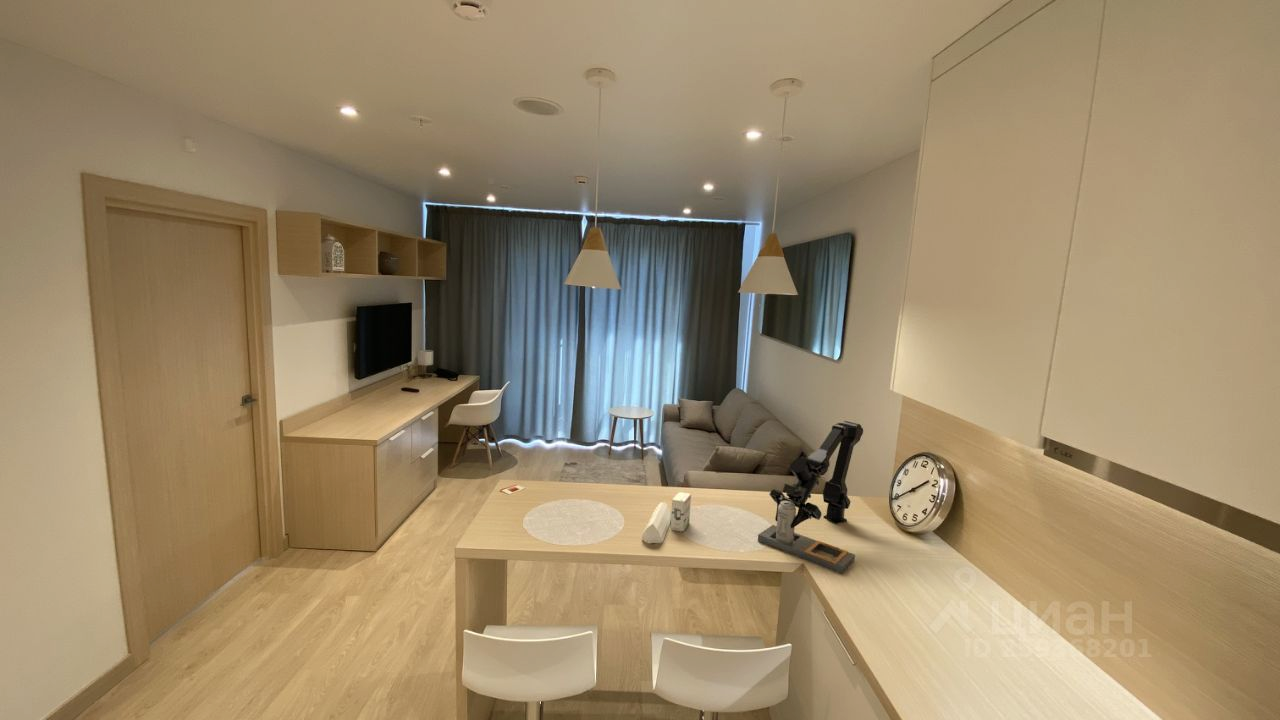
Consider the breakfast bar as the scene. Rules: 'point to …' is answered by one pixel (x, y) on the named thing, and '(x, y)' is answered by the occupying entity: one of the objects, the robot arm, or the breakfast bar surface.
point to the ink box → (680, 511)
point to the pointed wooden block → (658, 524)
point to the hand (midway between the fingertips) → (783, 524)
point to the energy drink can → (785, 522)
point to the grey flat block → (809, 550)
